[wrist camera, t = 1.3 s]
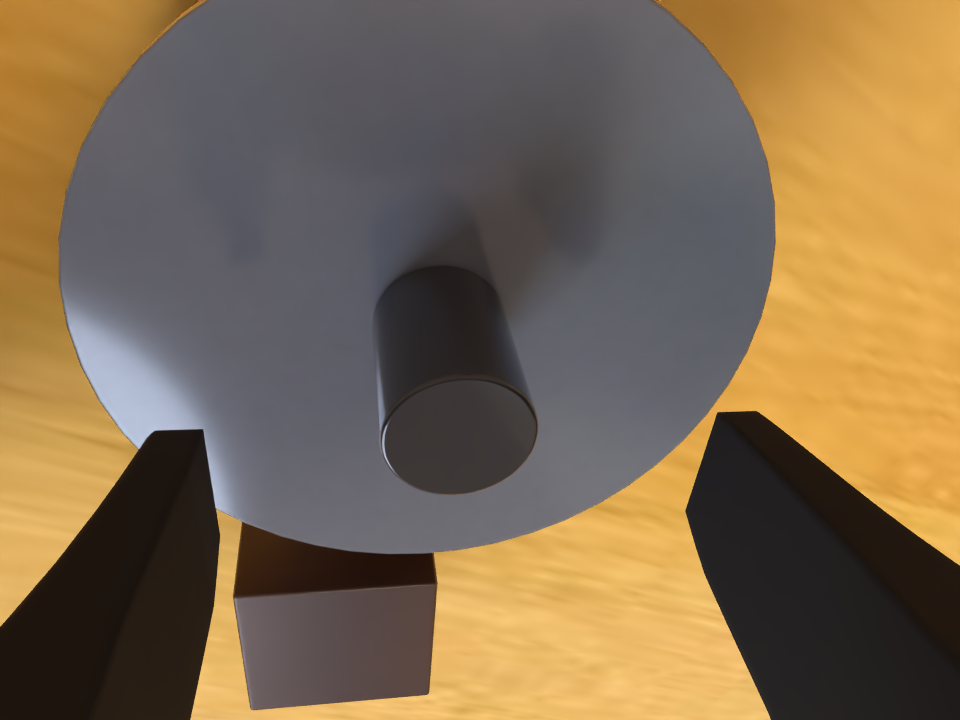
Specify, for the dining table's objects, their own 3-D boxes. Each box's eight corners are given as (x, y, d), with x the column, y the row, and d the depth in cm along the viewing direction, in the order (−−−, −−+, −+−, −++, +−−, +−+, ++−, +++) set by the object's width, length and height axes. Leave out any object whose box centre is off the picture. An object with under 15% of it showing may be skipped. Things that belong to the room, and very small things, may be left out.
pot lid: (232, 569, 19) (209, 744, 16) (-88, 27, 12) (-264, 139, 8) (745, 448, 19) (833, 595, 16) (763, -169, 12) (940, -141, 8)
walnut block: (262, 568, 26) (250, 711, 22) (249, 456, 24) (232, 597, 20) (415, 559, 27) (429, 695, 23) (420, 449, 24) (437, 583, 20)
